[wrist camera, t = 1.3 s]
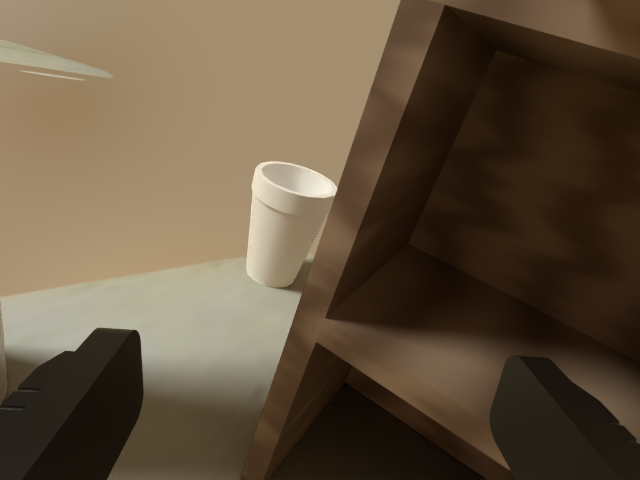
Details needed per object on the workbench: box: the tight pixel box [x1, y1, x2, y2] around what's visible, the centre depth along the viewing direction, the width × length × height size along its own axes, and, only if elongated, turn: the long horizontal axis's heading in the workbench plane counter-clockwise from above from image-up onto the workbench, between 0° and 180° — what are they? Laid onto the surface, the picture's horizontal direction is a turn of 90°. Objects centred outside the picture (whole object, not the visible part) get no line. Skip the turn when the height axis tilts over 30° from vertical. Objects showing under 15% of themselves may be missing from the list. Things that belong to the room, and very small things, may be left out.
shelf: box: [240, 0, 640, 480], centre depth 23 cm, size 22×15×32 cm
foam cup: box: [246, 161, 337, 288], centre depth 48 cm, size 10×9×13 cm
